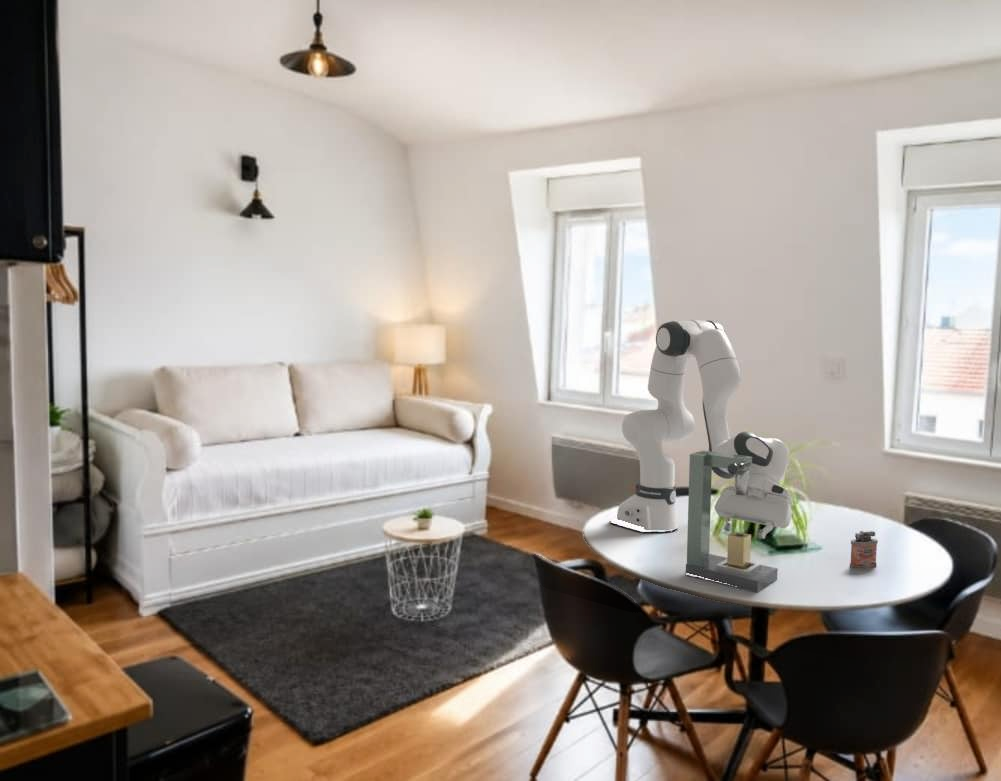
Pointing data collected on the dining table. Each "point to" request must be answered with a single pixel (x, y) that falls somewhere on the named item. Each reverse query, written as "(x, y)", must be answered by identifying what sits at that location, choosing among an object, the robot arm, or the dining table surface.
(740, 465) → the press
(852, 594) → the dining table surface
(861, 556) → the lighter
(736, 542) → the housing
